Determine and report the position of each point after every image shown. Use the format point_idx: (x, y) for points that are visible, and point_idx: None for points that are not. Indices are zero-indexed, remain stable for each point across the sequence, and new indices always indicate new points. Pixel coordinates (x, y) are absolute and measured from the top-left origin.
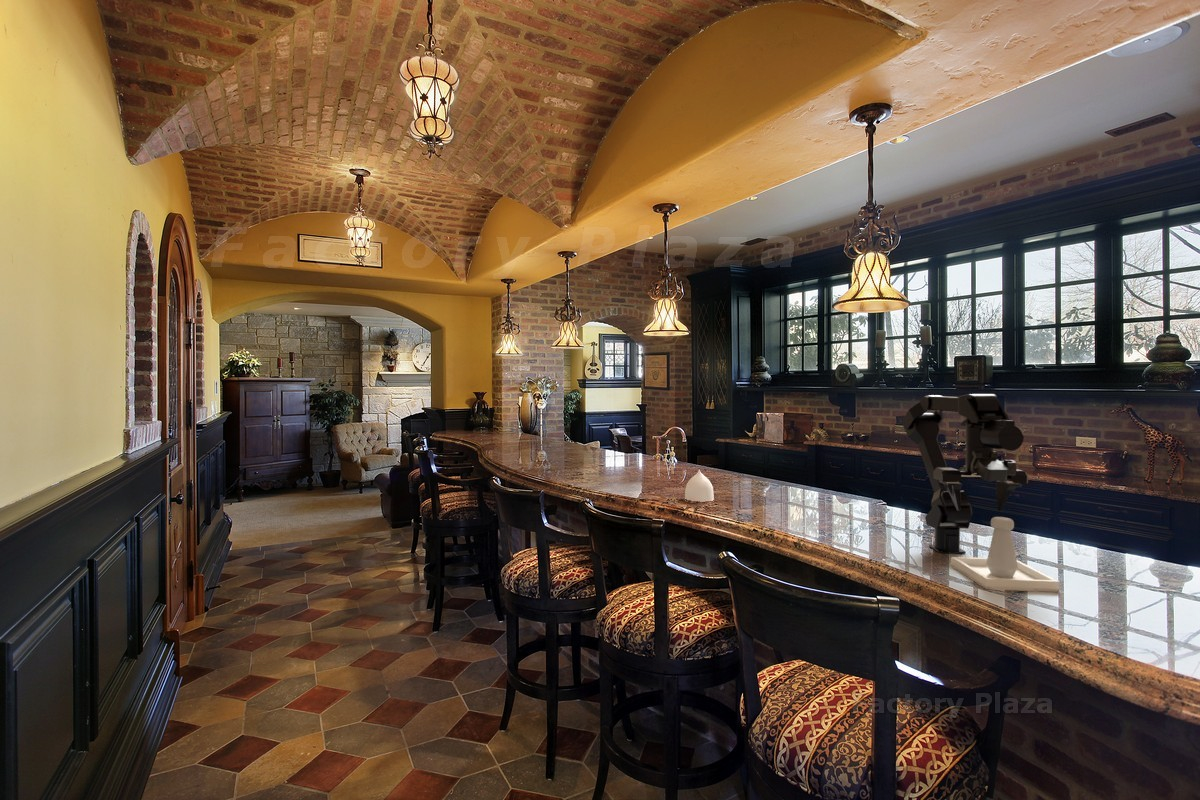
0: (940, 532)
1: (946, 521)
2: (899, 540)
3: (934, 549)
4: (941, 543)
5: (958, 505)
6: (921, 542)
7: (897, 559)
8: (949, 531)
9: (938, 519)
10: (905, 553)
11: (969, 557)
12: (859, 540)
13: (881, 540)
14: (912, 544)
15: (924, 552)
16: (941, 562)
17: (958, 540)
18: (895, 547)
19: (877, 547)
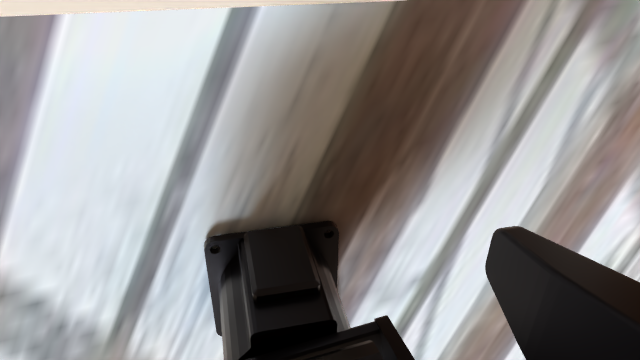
0: (343, 319)
1: (367, 341)
2: None
3: (335, 263)
4: (324, 271)
5: (580, 261)
6: None
7: (590, 74)
8: (311, 312)
9: (410, 357)
10: (493, 183)
11: (296, 3)
12: None
13: (480, 338)
14: None
15: (397, 218)
16: (403, 58)
17: (255, 272)
18: (482, 262)
19: None
